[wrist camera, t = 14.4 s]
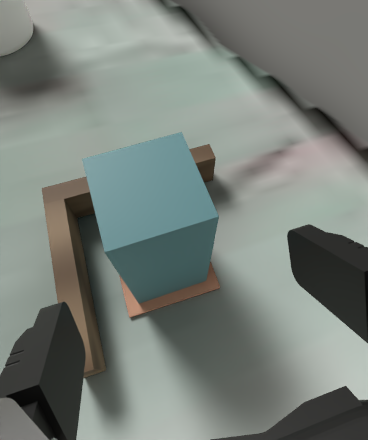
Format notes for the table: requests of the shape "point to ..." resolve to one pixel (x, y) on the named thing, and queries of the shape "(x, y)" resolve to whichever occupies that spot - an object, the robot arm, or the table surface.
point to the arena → (76, 266)
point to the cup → (14, 26)
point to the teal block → (153, 215)
